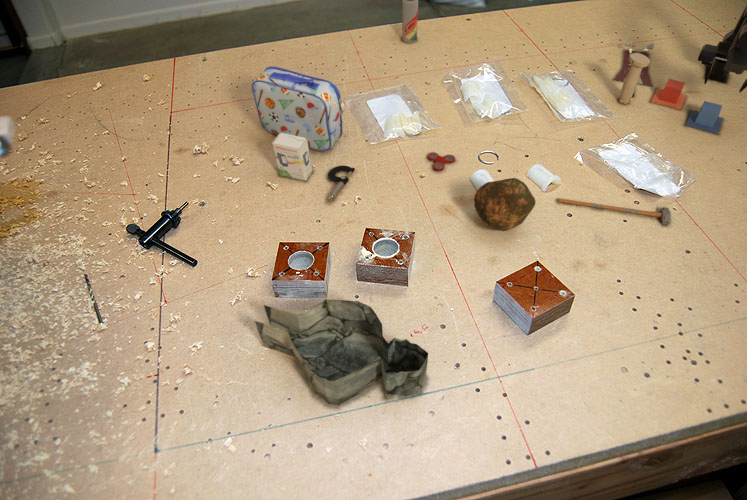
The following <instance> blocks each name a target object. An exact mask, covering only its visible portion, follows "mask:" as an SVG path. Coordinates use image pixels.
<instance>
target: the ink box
mask: <svg viewBox="0 0 747 500" xmlns="http://www.w3.org/2000/svg"><path fill="white" fill-rule="evenodd" d="M271 144H272V149H273V153H274V156H275V161H276V165H277V168H278V174H279V176H282V177H287V178H292V179H297V180H300V181H307V180H308V179H309V177H310V176H311V174H312V172H313V165H312V160H311V154H310V148H308V142H307V139H305V138H303V137H299V136H294V135H289V134H285V133H280V134H279V135H278V136H275V138H274V140H272V142H271Z"/></svg>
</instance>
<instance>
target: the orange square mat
mask: <svg viewBox="0 0 747 500" xmlns="http://www.w3.org/2000/svg"><path fill="white" fill-rule="evenodd" d="M663 90H664V88H660V87H656V90H655V92H654V94H653V96H652V98H651V100H650V103H652V104H657V105H660V106H664V107H668V108H673V109H675V110H682V107H683V105H684V102H685V100H686V98H687V94H684V93H681V94H680V96H679V98H678V100H677V102H676V104H674V103H670V102H667V101H663V100H659V99H660V97H661V95H662V92H663Z"/></svg>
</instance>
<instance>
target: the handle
mask: <svg viewBox="0 0 747 500" xmlns="http://www.w3.org/2000/svg"><path fill="white" fill-rule="evenodd" d="M629 62H630V63H631V67H630V70H629V72H628V75H627V77H626V79H625V81H623V84H622V87H621V89H620V92H619V98H618V101H619V103H620V104H622V105H623V104H624V105H626V104H629V103H630V102H631V99H632V97H634V96H633V94H634V95H635V92H636V89H637V86H638V80H639V77H640V74H641V71H642V68H643V67H647V66H648V67H649V66H650V63H651V59H650V58H649V56H648V57H646V56H645V55H643V54H640V53H633V54H630V56H629Z"/></svg>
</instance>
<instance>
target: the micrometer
mask: <svg viewBox="0 0 747 500" xmlns="http://www.w3.org/2000/svg"><path fill="white" fill-rule="evenodd" d="M355 171H356V169H355V168H354V167H351V166H348V165H338V166H335V167H333V168H332V169H330V170H329V172H328V174H327V177H328V179H329V181H331V182H333V183H336V184H335V185H334V187H333V188H332V189H331V190H330V192H329V193H328V197H327V198H326V201H327V202H328V203H331V202H332V201H334V200H336V198H337V197H338V195H339V194H340V193H341V192H342V190H343V189H344V187H346V185H347V184H348V182H349V180H350V179H349V178H350V176H351V175H352V174H354V172H355ZM339 172H347V174H346V175H341V176H337V173H339Z"/></svg>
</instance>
